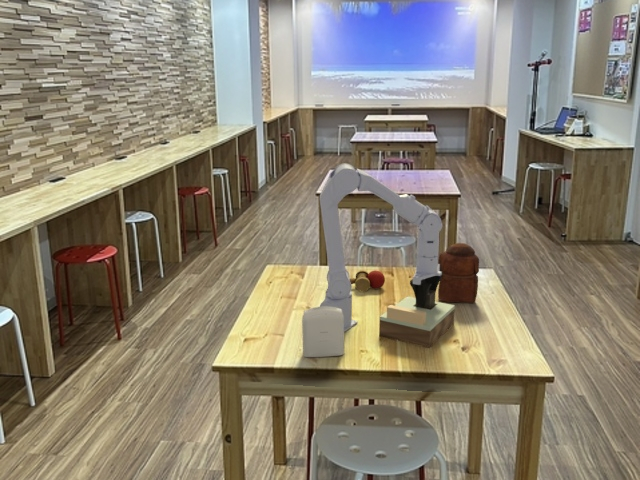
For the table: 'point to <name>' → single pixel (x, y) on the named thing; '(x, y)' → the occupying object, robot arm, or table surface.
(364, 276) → the kendama
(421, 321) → the lid
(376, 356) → the table surface
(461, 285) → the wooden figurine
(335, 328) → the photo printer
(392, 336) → the brown wooden box
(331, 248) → the robot arm
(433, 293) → the dark brown block
